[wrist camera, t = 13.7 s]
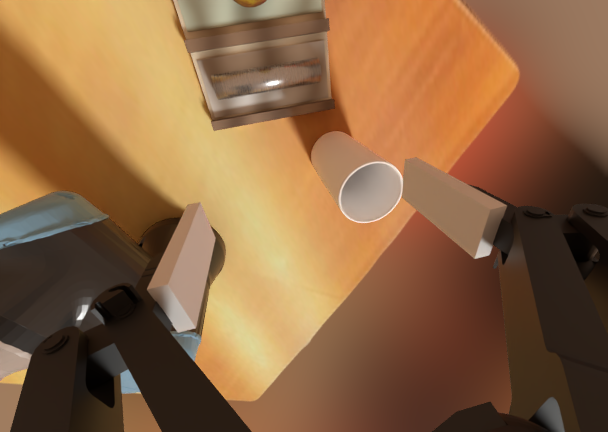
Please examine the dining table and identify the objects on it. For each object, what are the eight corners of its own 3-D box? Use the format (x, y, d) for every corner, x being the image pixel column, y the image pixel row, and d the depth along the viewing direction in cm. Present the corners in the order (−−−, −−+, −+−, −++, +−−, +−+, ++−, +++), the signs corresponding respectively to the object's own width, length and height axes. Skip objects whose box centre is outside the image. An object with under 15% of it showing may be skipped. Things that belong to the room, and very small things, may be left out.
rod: (220, 100, 34) (217, 100, 31) (213, 76, 32) (209, 73, 30) (317, 83, 35) (322, 81, 32) (314, 59, 34) (319, 55, 31)
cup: (308, 135, 40) (336, 169, 26) (355, 126, 41) (406, 154, 27) (313, 181, 44) (340, 229, 31) (356, 172, 45) (400, 215, 32)
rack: (216, 127, 37) (213, 130, 35) (154, -64, 26) (145, -76, 24) (330, 106, 38) (334, 108, 36) (315, -83, 28) (321, -96, 25)
